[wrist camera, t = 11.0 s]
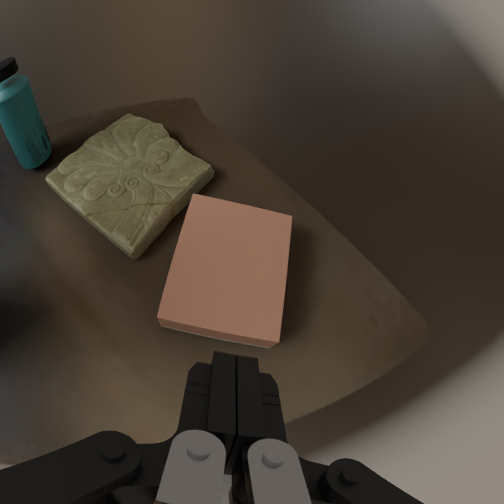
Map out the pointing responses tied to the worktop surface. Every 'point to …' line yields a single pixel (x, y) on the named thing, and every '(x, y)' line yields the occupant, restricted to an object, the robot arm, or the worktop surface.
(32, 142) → the beverage bottle
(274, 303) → the terracotta tile
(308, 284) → the worktop surface
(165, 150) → the decorative tile
